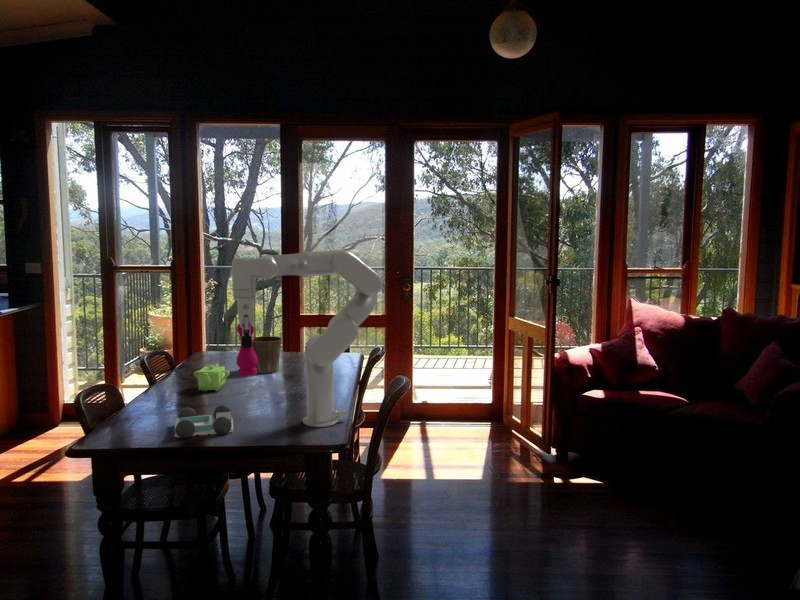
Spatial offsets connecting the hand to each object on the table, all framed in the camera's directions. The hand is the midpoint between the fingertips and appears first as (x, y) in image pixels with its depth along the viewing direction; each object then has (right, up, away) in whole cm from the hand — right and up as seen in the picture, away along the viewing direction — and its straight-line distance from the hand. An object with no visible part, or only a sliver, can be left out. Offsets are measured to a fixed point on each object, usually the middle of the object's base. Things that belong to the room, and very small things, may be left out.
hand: (246, 345), depth 217 cm
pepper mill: (0, -10, +1) cm, 10 cm away
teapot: (-29, -23, +56) cm, 67 cm away
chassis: (-15, -29, +2) cm, 33 cm away
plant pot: (-12, -19, +90) cm, 93 cm away
